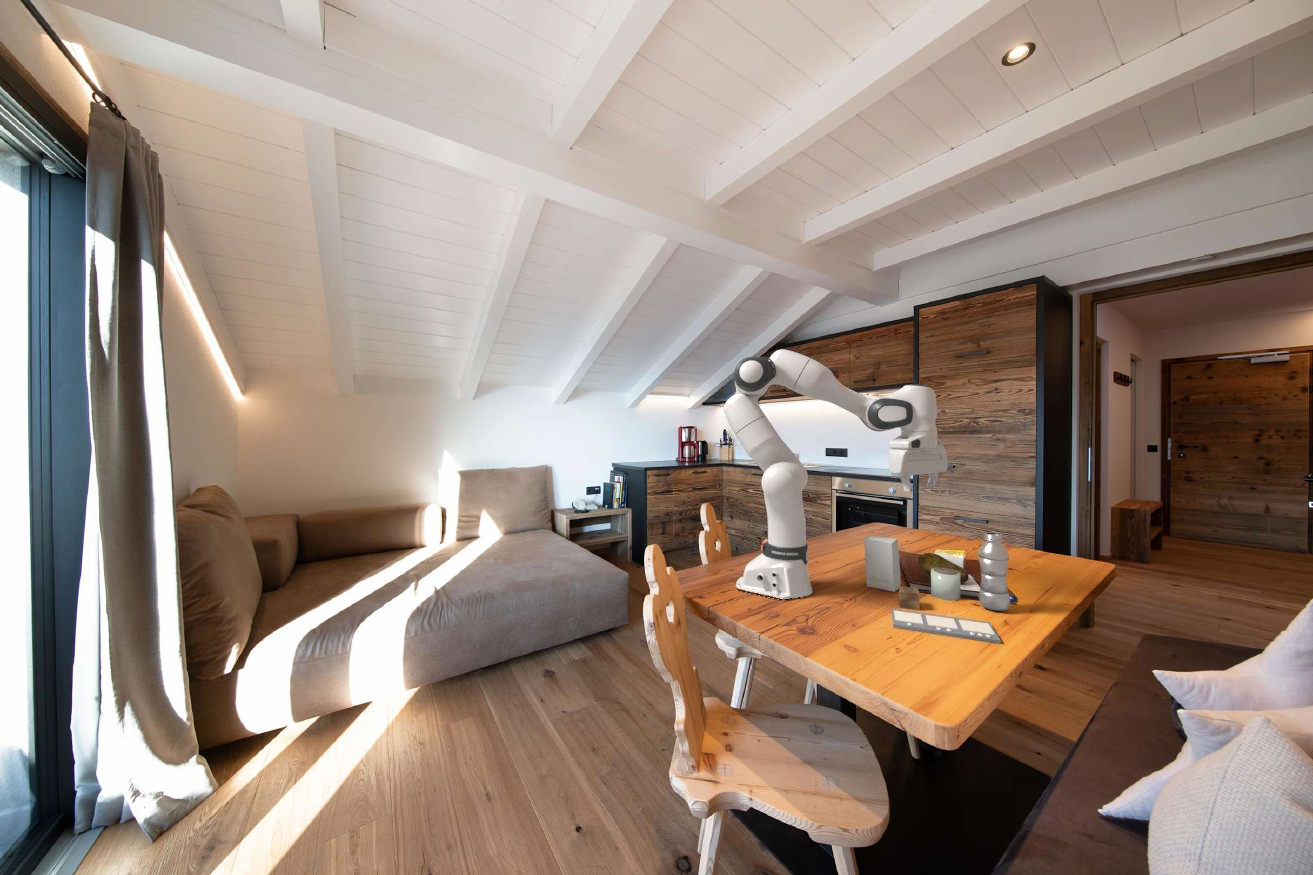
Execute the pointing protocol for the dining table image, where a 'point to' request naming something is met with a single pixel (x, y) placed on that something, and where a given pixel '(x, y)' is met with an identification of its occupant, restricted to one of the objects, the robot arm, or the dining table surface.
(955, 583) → the sage mug
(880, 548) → the skincare box
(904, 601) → the marker cube
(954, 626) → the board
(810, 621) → the dining table surface
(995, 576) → the plastic bottle
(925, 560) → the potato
